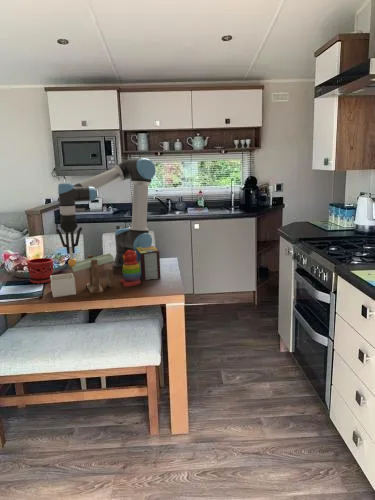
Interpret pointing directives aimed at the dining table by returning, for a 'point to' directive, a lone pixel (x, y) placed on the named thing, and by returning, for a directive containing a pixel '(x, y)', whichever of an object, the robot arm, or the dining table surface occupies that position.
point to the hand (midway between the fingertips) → (71, 259)
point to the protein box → (148, 262)
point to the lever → (87, 263)
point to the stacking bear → (130, 269)
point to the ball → (72, 262)
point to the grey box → (63, 285)
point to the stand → (97, 277)
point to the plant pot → (40, 270)
